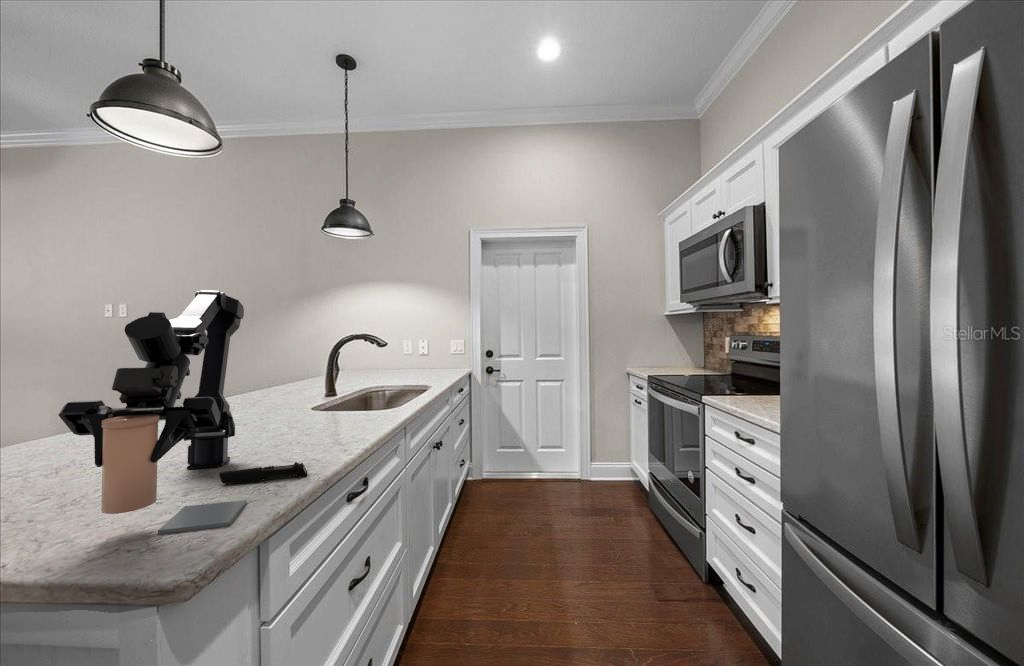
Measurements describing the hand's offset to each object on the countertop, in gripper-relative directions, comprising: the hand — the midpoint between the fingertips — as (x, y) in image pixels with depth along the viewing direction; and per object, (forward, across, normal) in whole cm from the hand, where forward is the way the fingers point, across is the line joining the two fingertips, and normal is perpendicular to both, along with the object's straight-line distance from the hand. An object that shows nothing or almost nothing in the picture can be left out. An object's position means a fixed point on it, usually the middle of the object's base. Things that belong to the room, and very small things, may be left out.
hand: (125, 463), depth 59 cm
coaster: (+5, +9, +10) cm, 14 cm away
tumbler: (+4, 0, +6) cm, 7 cm away
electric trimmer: (-6, +14, +22) cm, 27 cm away
